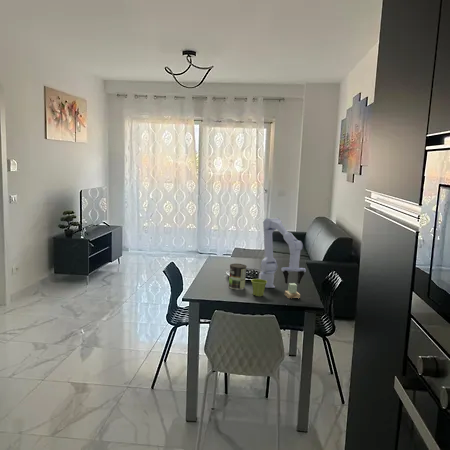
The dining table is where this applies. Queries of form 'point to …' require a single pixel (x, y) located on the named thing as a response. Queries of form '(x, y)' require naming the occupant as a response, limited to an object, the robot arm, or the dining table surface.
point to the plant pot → (258, 286)
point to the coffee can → (237, 276)
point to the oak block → (292, 295)
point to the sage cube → (292, 288)
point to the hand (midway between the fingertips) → (292, 283)
